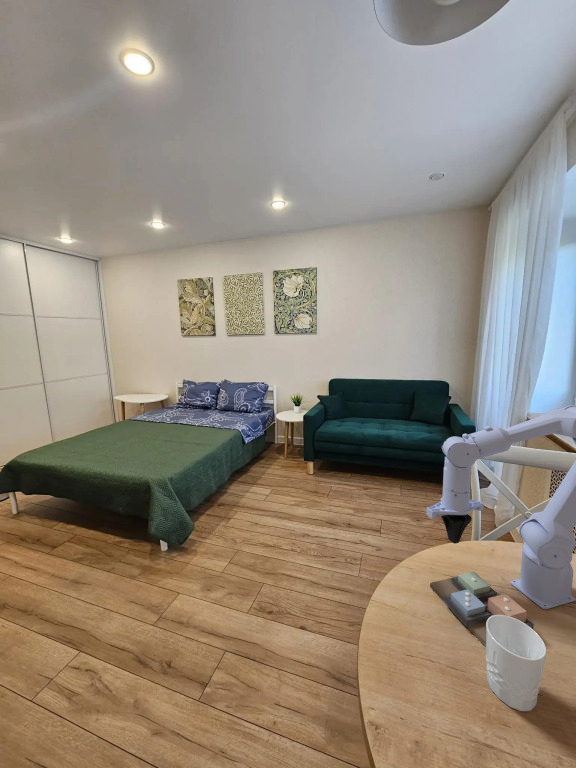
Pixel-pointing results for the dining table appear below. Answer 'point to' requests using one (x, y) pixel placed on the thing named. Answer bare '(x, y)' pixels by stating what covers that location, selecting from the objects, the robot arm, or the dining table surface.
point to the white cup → (514, 661)
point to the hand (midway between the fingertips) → (453, 540)
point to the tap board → (473, 622)
